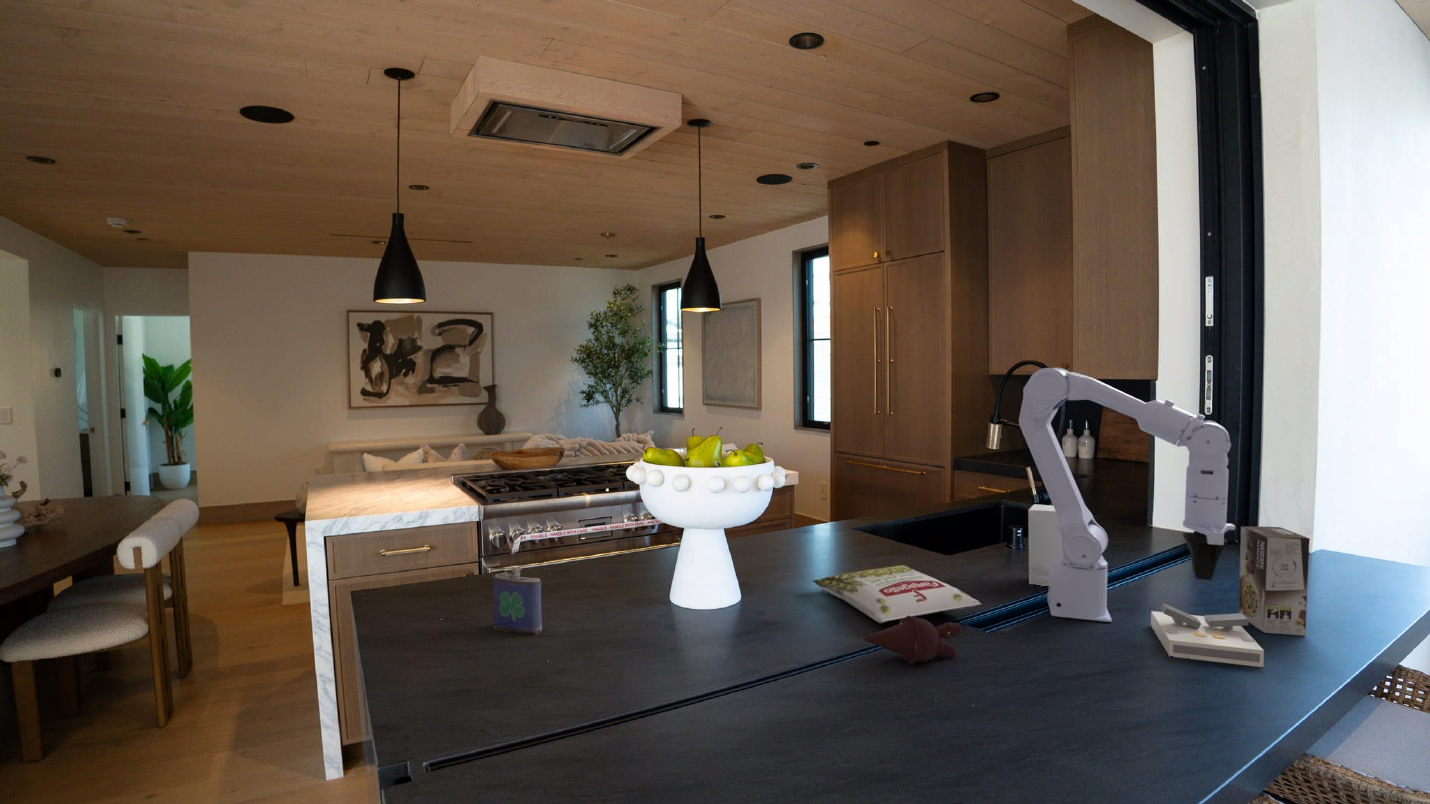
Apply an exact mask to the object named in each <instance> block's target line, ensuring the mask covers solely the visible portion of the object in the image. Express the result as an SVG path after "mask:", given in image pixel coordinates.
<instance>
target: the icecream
mask: <svg viewBox="0 0 1430 804" xmlns="http://www.w3.org/2000/svg"><path fill="white" fill-rule="evenodd" d="M898 623H899V624H896V625H893V626H891V627H888V628H886V629H883V630H880V631H876V632H874V633H870V634H869V635H865V636H864V641H865V642H868V643H870V644H871V645H875V646H879V647H881V648H883V649H886V650H887V651H891V652H893V653H896V654H898V655H900V656H902V658H903V660H904V661H905V662H908V663H909V664H910V665H911V666H912V665H914V664H915V663H920V662H921V663H922V662H928V661H929V660H931V659H933V658H934V657H935V656H938V657H941V658H952V657H954V656H956V655H957V649H956V648H955V646H954V645H952V644H949V643H946V642H942V640H941V639H945V640H949V639H953V638H957V637H959V636H960V635H961V634H962V633H963V627H962V626H961V625H960V624H959V623H957V622H945V623H943V625H942V624H941V625H939V626H936V627H935V626H934V625H933V623H932V622H930V621H929V620H927V619H924V618H920V617H917V616H915V617H911V616H909V615H908V616H906V617H905V618H903V619H899V622H898Z"/></svg>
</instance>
